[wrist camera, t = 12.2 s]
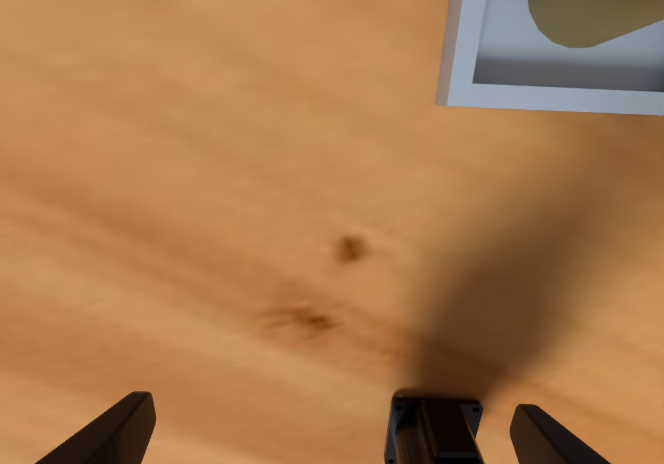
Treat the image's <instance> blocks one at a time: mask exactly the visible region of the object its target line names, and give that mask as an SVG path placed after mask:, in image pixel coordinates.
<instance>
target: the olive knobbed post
mask: <svg viewBox="0 0 664 464" xmlns="http://www.w3.org/2000/svg"><path fill="white" fill-rule="evenodd" d="M528 7H529V12H530V14H531V16H532V18H533V20H534V22H535V24H536V26H537V28H538V30H539V31H540V32H542V33H543V34H544V35H545V36H546V37H547V38H548V39H549V40H550V41H552V42H553V43H556V44H559V45H562V46H565V47H568V48H591V47H593V46H596V45H599V44H601V43H604V42H607V41H610V40H612V39H615V38H617V37H620V36H623V35H625V34H628V33H630V32H633V31H636V30H638V29H641V28H643V27H646V26H649V25H651V24H654V23H656V22H659V21H662V20H664V0H528Z"/></svg>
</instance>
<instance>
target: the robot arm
mask: <svg viewBox="0 0 664 464" xmlns="http://www.w3.org/2000/svg"><path fill="white" fill-rule="evenodd" d="M397 405H398V406H397ZM482 412H483V407H482V405H481V403H480V402H479V401H477V400H456V399H426V398H395V399H393V400H392V402H391V407H390V415H389V422H388V429H387V437H386V444H385V452H384V461H385V464H485V462H484V460H483V457H482V455H481V452H480V450H479V448H478V445H477V443H476V440H475V438H476V434H477V431H478V427H479V423H480V419H481V415H482ZM155 423H156V413H155V408H154V402H153V397H152V394H151V393H150V392H144V391H134V392H132V393H130V394H128V395H127V396H126V397H124V398H123V399H122V400H120V401H119V402H118V403H116V404H115V405H113V406H112V407H111V408H109V409H108V410H107V411H105V412H104V413H103V414H101V415H100V416H99V417H97V418H96V419H94V420H93V421H92V422H90V423H89V424H88V425H86V426H85V427H84V428H82V429H81V430H80V431H78V432H77V433H76V434H74V435H73V436H71V437H70V438H69V439H67V440H66V441H65V442H63V443H62V444H61V445H59V446H58V447H57V448H55V449H54V450H53V451H51V452H50V453H48V454H47V455H46V456H44V457H43V458H42V459H40V460H39V461H38V462H36V463H35V464H141V463H142V460H143V457H144V454H145V452H146V449H147V446H148V444H149V441H150V438H151V435H152V433H153V430H154V427H155ZM510 437H511V440H512V443H513V446H514V449H515V452H516V455H517V458H518V461H519V464H611V463H610V462H608V461H607V460H606V459H605V458H603V457H602V456H601V455H599V454H598V453H597V452H596V451H594V450H593V449H592V448H591V447H589V446H588V445H587V444H585V443H584V442H583V441H582V440H580V439H579V438H578V437H577V436H575V435H574V434H573V433H571V432H570V431H569V430H568V429H566V428H565V427H564V426H563V425H561V424H560V423H559V422H557V421H556V420H555V419H554V418H552V417H551V416H550V415H549V414H547V413H546V412H545V411H543V410H542V409H541V408H540V407H538V406H536V405H534V404H519V405H518V406H517V407H516V409H515V413H514V416H513V419H512V422H511V426H510Z"/></svg>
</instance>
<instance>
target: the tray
mask: <svg viewBox="0 0 664 464" xmlns="http://www.w3.org/2000/svg"><path fill="white" fill-rule="evenodd" d="M435 105H444V106H463V107H485V108H507V109H530V110H552V111H574V112H597V113H619V114H642V115H664V20H662V21H659V22H656V23H654V24H651V25H649V26H646V27H643V28H641V29H638V30H636V31H633V32H630V33H628V34H625V35H623V36H620V37H617V38H615V39H612V40H610V41H607V42H604V43H601V44H599V45H596V46H593V47H591V48H568V47H565V46H562V45H559V44H556V43H553V42H552V41H550V40H549V39H548V38H547V37H546V36H545V35H544V34H543V33H542V32H540V31H539V30H538V28H537V26H536V24H535V22H534V20H533V18H532V16H531V14H530V12H529V7H528V0H450V2H449V9H448V16H447V23H446V31H445V38H444V45H443V52H442V59H441V67H440V74H439V81H438V88H437V95H436V103H435Z"/></svg>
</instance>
